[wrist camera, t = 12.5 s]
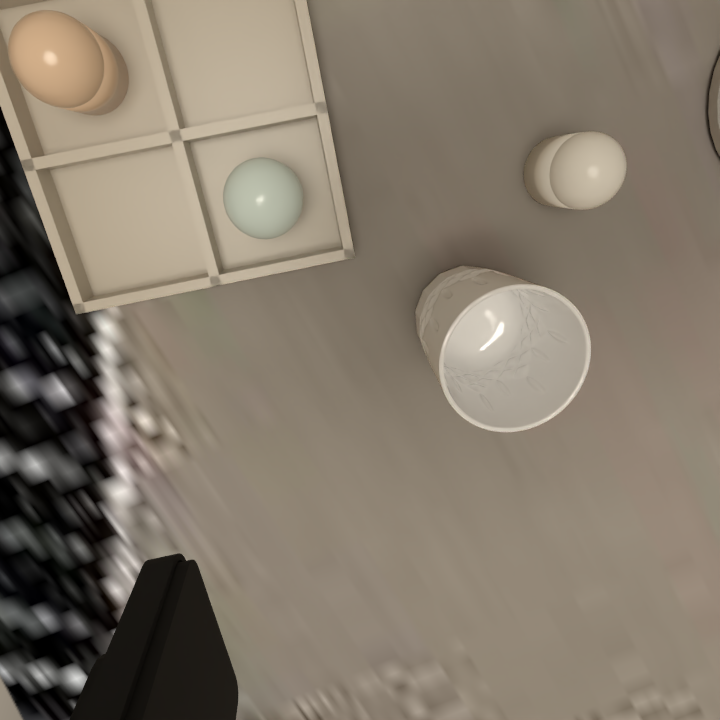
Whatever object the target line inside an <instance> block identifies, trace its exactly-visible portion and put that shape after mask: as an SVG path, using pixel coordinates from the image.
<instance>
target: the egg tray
mask: <svg viewBox="0 0 720 720" xmlns="http://www.w3.org/2000/svg"><path fill="white" fill-rule="evenodd" d="M39 10H53V11H59V12H62V13H65V14H67V15H69V16H72V17H74V18H75V19H77V20H78V21H80V22H82V23H83V24H85V25H86V26H88V27H89V28H91V29H92V30H94V31H95V32H97V33H98V34H100V35H101V36H103V37H105V38H106V39H107V40H109V41H110V42H111V43H112V44H113V45H114V46H115V47H116V48H117V49H118V50H119V52H120V53H121V55H122V56H123V58H124V60H125V63H126V66H127V69H128V75H129V85H128V90H127V94H126V96H125V98H124V100H123V102H122V103H121V104H120V105H119V106H118V107H117V108H116V109H115V110H113V111H112V112H110V113H107V114H104V115H98V116H92V115H86V114H82V113H78V112H74V111H70V110H66V109H62V108H58V107H54V106H51V105H49V104H46V103H44V102H42V101H40V100H38V99H37V98H36V97H34V96H33V95H31V94H30V93H29V92H28V91H27V90H26V89H25V88H24V87H23V86H22V85H21V83H20V82H19V80H18V79H17V77H16V76H15V74H14V72H13V70H12V67H11V64H10V61H9V56H8V41H9V36H10V34H11V31H12V29H13V27H14V26H15V24H16V23H17V22H18V21H19V20H20V19H21V18H22V17H24V16H25V15H27V14H29V13H32V12H35V11H39ZM0 106H1V108H2V111H3V114H4V117H5V119H6V122H7V125H8V128H9V130H10V133H11V136H12V139H13V141H14V144H15V147H16V150H17V152H18V155H19V158H20V161H21V163H22V166H23V169H24V172H25V174H26V177H27V180H28V183H29V185H30V188H31V191H32V194H33V196H34V199H35V202H36V205H37V207H38V210H39V213H40V216H41V219H42V221H43V224H44V227H45V230H46V232H47V235H48V238H49V241H50V243H51V246H52V249H53V252H54V254H55V257H56V260H57V263H58V265H59V268H60V271H61V274H62V276H63V279H64V282H65V285H66V287H67V290H68V293H69V296H70V298H71V301H72V304H73V307H74V309H75V312H76V314H80V313H85V312H90V311H95V310H100V309H105V308H110V307H115V306H120V305H125V304H130V303H135V302H139V301H144V300H149V299H154V298H159V297H164V296H169V295H174V294H179V293H184V292H189V291H193V290H198V289H203V288H208V287H213V286H218V285H223V284H228V283H233V282H238V281H243V280H248V279H252V278H257V277H262V276H267V275H272V274H277V273H282V272H287V271H292V270H297V269H302V268H307V267H311V266H316V265H321V264H326V263H331V262H336V261H341V260H346V259H351V258H355V254H354V248H353V243H352V238H351V233H350V227H349V222H348V217H347V212H346V206H345V201H344V196H343V190H342V185H341V180H340V175H339V169H338V164H337V159H336V154H335V148H334V143H333V138H332V133H331V127H330V122H329V117H328V112H327V106H326V101H325V96H324V90H323V85H322V80H321V75H320V69H319V64H318V59H317V54H316V48H315V43H314V38H313V33H312V27H311V22H310V17H309V12H308V6H307V1H306V0H0ZM258 157H265V158H271V159H274V160H277V161H279V162H281V163H283V164H285V165H286V166H288V167H289V168H290V169H291V170H292V171H293V172H294V173H295V174H296V175H297V177H298V179H299V180H300V183H301V185H302V189H303V207H302V211H301V214H300V217H299V219H298V221H297V222H296V224H295V225H294V226H293V227H292V228H291V229H290V230H289V231H288V232H287V233H285V234H283V235H281V236H279V237H276V238H273V239H257V238H253V237H250V236H248V235H246V234H244V233H243V232H241V231H240V230H239V229H237V228H236V227H235V226H234V224H233V223H232V222H231V220H230V219H229V217H228V215H227V213H226V210H225V207H224V202H223V191H224V186H225V183H226V180H227V178H228V176H229V175H230V173H231V172H232V171H233V170H234V168H235V167H237V166H238V165H239V164H241V163H242V162H244V161H246V160H249V159H252V158H258Z"/></svg>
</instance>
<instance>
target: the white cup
mask: <svg viewBox="0 0 720 720" xmlns="http://www.w3.org/2000/svg"><path fill="white" fill-rule="evenodd" d="M415 316H416V328H417V334H418V336H419V338H420V340H421V343H422V346H423V350H424V352H425V354H426V357H427V359H428V361H429V364H430V366H431V368H432V370H433V372H434V374H435V376H436V378H437V380H438V382H439V384H440V386H441V388H442V390H443V392H444V394H445V396H446V398H447V400H448V401H449V403H450V404H451V406H452V407H453V408H454V410H455V411H456V412H457V413H458V414H459V415H460V416H462V417H463V418H464V419H465V420H467V421H468V422H470V423H472V424H474V425H476V426H478V427H480V428H483V429H486V430H490V431H496V432H516V431H522V430H527V429H530V428H533V427H536V426H538V425H541V424H543V423H545V422H546V421H548V420H550V419H551V418H553V417H554V416H556V415H557V414H558V413H560V412H561V411H562V410H563V409H564V408H565V407H566V406H567V405H568V404H569V403H570V402H571V401H572V400H573V398H574V397H575V396H576V394H577V393H578V391H579V390H580V388H581V386H582V384H583V382H584V380H585V378H586V375H587V372H588V368H589V364H590V358H591V342H590V335H589V331H588V328H587V325H586V323H585V321H584V319H583V317H582V315H581V314H580V312H579V311H578V309H577V308H576V307H575V306H574V305H573V304H572V303H571V302H570V301H569V300H568V299H567V298H565V297H564V296H563V295H561V294H559V293H558V292H556V291H554V290H551V289H549V288H546V287H543V286H540V285H537V284H535V283H532V282H529V281H526V280H523V279H521V278H518V277H515V276H512V275H509V274H506V273H502V272H498V271H495V270H490V269H486V268H482V267H472V266H459V267H456V268H454V269H451V270H448V271H445V272H443V273H440V274H439V275H438V276H437V277H436V278H435V279H434V280H433V281H432V282H431V283H430V284H429V285H428V286H427V287H426V288H425V289H424V290H423V292H422V295H421V297H420V300H419V302H418V305H417V308H416V310H415Z"/></svg>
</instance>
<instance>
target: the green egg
mask: <svg viewBox="0 0 720 720" xmlns="http://www.w3.org/2000/svg"><path fill="white" fill-rule="evenodd" d="M223 202H224V207H225V210H226V213H227V215H228V217H229V219H230V220H231V222H232V223H233V224H234V226H235V227H236V228H237V229H239V230H240V231H241V232H243V233H244V234H246V235H248V236H250V237H253V238H257V239H273V238H276V237H279V236H281V235H283V234H285V233H287V232H288V231H289V230H290V229H291V228H292V227H293V226H294V225H295V224H296V222H297V221H298V219H299V217H300V214H301V211H302V207H303V189H302V185H301V183H300V180H299V179H298V177H297V175H296V174H295V173H294V172H293V171H292V170H291V169H290V168H289V167H288V166H286V165H285V164H283V163H281V162H279V161H277V160H274V159H271V158H265V157H258V158H252V159H249V160H246V161H244V162H242V163H241V164H239V165H238V166H237V167H235V168H234V170H233V171H232V172H231V173H230V175H229V176H228V178H227V180H226V183H225V186H224V191H223Z"/></svg>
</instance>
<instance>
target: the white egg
mask: <svg viewBox="0 0 720 720" xmlns="http://www.w3.org/2000/svg"><path fill="white" fill-rule="evenodd" d="M626 171H627V161H626V156H625V154H624V151H623V149H622V147H621V146H620V144H619V143H618V142H617V141H616V140H615V139H613V138H612V137H611V136H609V135H607V134H604V133H601V132H596V131H587V132H580V133H573V134H567V135H560V136H554V137H550V138H547V139H545V140H543V141H542V142H540V143H539V144H538V145H537V146H536V147H535V148H534V149H533V150H532V151H531V153H530V154H529V156H528V158H527V160H526V163H525V167H524V183H525V187H526V189H527V191H528V193H529V194H530V196H531V197H532V198H533V199H534V200H535V201H537V202H538V203H540V204H543V205H546V206H553V207H561V208H569V209H576V210H587V209H592V208H596V207H598V206H601V205H603V204H604V203H606V202H607V201H609V200H610V199H611V198H612V197H613V196H614V195H615V194H616V193H617V192H618V191H619V189H620V188H621V186H622V184H623V182H624V179H625V176H626Z"/></svg>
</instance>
